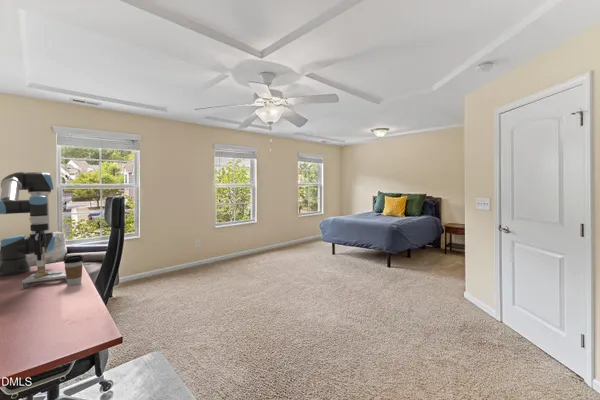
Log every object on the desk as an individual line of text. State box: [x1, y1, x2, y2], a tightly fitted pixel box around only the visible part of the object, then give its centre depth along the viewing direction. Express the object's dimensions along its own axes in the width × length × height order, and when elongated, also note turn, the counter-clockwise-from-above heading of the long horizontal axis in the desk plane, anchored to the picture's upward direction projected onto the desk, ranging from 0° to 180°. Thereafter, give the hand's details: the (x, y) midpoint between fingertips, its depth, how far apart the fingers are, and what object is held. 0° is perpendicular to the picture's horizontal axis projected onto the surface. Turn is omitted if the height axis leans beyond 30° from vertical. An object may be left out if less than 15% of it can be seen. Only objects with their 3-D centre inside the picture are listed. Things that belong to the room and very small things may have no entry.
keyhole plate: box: [21, 269, 67, 289], centre depth 166 cm, size 16×20×4 cm
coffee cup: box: [63, 254, 84, 287], centre depth 160 cm, size 8×8×15 cm
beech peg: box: [34, 247, 49, 277], centre depth 164 cm, size 6×6×16 cm
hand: (41, 265), depth 164 cm, fingers closed on beech peg, 3 cm apart
